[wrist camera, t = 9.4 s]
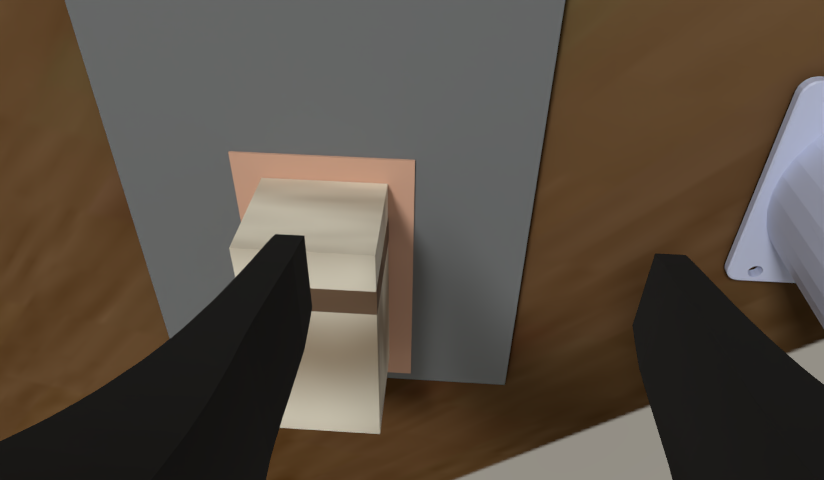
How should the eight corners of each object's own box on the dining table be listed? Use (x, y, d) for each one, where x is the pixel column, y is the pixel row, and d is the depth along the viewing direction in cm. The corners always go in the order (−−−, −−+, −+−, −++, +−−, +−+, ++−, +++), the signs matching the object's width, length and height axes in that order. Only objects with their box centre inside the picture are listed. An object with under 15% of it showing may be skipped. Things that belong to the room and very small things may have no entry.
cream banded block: (390, 356, 28) (380, 434, 25) (287, 350, 28) (265, 427, 25) (388, 183, 23) (375, 256, 20) (261, 177, 23) (228, 248, 20)
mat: (611, -317, 15) (616, -318, 14) (504, 377, 29) (504, 386, 29) (-27, -325, 15) (-40, -328, 15) (181, 358, 30) (177, 366, 30)
